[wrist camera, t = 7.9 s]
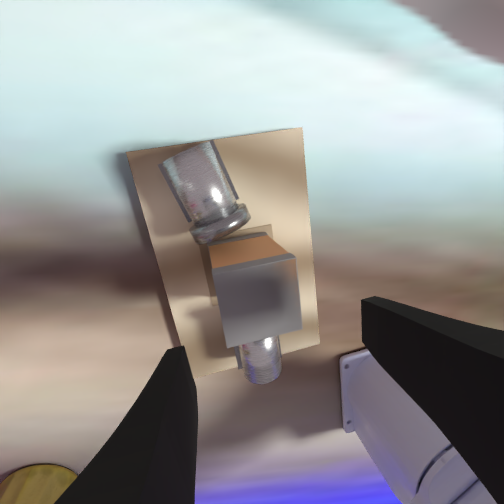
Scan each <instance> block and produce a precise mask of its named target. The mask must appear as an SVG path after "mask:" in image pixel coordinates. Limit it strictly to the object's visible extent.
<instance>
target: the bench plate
mask: <svg viewBox="0 0 504 504" xmlns="http://www.w3.org/2000/svg"><path fill="white" fill-rule="evenodd" d="M209 141H211V140H208V141H201V142H194V143H187V144H180V145H173V146H166V147H159V148H152V149H145V150H138V151H130V152H126V154H127V158H128V161H129V165H130V168H131V172H132V175H133V179H134V182H135V186H136V189H137V193H138V196H139V200H140V203H141V207H142V210H143V214H144V217H145V221H146V224H147V227H148V231H149V234H150V238H151V241H152V245H153V248H154V252H155V255H156V259H157V262H158V266H159V269H160V273H161V276H162V280H163V283H164V287H165V290H166V294H167V297H168V301H169V304H170V308H171V311H172V315H173V318H174V322H175V325H176V329H177V332H178V336H179V339H180V343H181V346H183V345H184V347H185V350H186V354H187V357H188V361H189V364H190V368H191V371H192V375H193V378H194V379H195V378H199V377H202V376H206V375H209V374H213V373H216V372H220V371H224V370H227V369H231V368H234V367H238V364H237V360H236V355H235V350H234V347H230V348H227V345H226V340H225V335H224V330H223V325H222V320H221V315H220V310H219V305H218V300H217V295H216V290H215V285H214V280H213V275H212V266H211V261H210V256H209V251H208V246H207V243H206V244H196V242H195V241H194V239H193V237H192V235H191V233H190V231H189V229H190V228H191V227H192V226H193V225H194V224H193V222H192V221H191V222H189V223H188V221H187V219H186V217H185V215H184V214H183V212H182V210H181V208H180V206H179V204H178V202H177V200H176V199H175V197H174V195H173V193H172V191H171V189H170V187H169V186H168V184H167V182H166V180H165V178H164V176H163V174H162V173H161V171H160V169H159V167H158V164H160V163H162V162H164V161H165V160H167V159H169V158H171V157H172V156H174V155H176V154H178V153H180V152H183V151H185V150H187V149H189V148H192V147H194V146H196V145H199V144H202V143H205V142H209ZM213 141H214V143H215V145H216V147H217V150H218V152H219V154H220V156H221V159H222V161H223V163H224V165H225V168H226V170H227V172H228V174H229V176H230V179H231V181H232V183H233V185H234V188H235V190H236V192H237V194H238V197H239V199H238V200H236V201H237V203H238V204H241V203H244V204H246V207H247V209H248V211H249V213H250V216H251V219H250V220H249V222H247V223H246V224H245V225H244V226H243V227H241V228H240V229H238V230H236V231H235V232H233V233H231V234H229V235H227V236H225V237H223V238H221V239H218V240H224V239H229V238H234V237H240V236H245V235H250V234H256V233H261V232H266V233H267V234H268V236H269V237H270V238H272V239H273V240H274V241H275V242H276V243H278V244H279V245H280V246H281V247H282V248H284V249H285V250H286V251H287V252H288V253H292V254H293V255H294V256H295V257H296V258H297V269H298V280H299V292H300V303H301V314H302V326H303V329H301V330H297V331H293V332H290V333H286V334H282V335H279V340H280V347H281V354H285V353H288V352H292V351H295V350H299V349H303V348H306V347H310V346H313V345H317V344H320V338H319V326H318V314H317V302H316V289H315V277H314V265H313V253H312V240H311V228H310V216H309V204H308V191H307V179H306V167H305V155H304V142H303V130H302V127H301V128H294V129H286V130H279V131H272V132H265V133H258V134H251V135H244V136H237V137H230V138H223V139H216V140H213ZM218 240H216V241H218Z"/></svg>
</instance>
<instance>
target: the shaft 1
mask: <svg viewBox="0 0 504 504" xmlns="http://www.w3.org/2000/svg"><path fill="white" fill-rule="evenodd" d="M158 167H159V169H160V171H161V173H162V174H163V176H164V178H165V180H166V182H167V184H168V186H169V187H170V189H171V191H172V193H173V195H174V197H175V199H176V200H177V202H178V204H179V206H180V208H181V210H182V212H183V214H184V215H185V217H186V219H187V221H188V223H189V222H191V221H192V222H193V224H194V225H193V226H192V227H191V228H190V229H189V231H190V233H191V235H192V237H193V239H194V241H195V242H196V244H206V243H210V242H213V241H216V240H218V239H221V238H223V237H225V236H227V235H229V234H231V233H233V232H235V231H236V230H238V229H240V228H241V227H243V226H244V225H245V224H246V223H247V222H249V220H250V219H251V216H250V213H249V211H248V209H247V207H246V204H244V203H241V204H238V203H237V201H236V200H238V199H239V197H238V194H237V192H236V190H235V188H234V185H233V183H232V181H231V179H230V176H229V174H228V172H227V170H226V168H225V165H224V163H223V161H222V159H221V156H220V154H219V152H218V150H217V147H216V145H215V143H214V141H213V140H211V141H209V142H205V143H202V144H199V145H196V146H194V147H192V148H189V149H187V150H185V151H183V152H180V153H178V154H176V155H174V156H172V157H171V158H169V159H167V160H165V161H164V162H162V163H160V164H158Z"/></svg>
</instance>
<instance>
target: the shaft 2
mask: <svg viewBox="0 0 504 504" xmlns="http://www.w3.org/2000/svg"><path fill="white" fill-rule="evenodd" d="M234 350H235V355H236V360H237V364H238V369H241V368H243V372H244V376H245V377H246V379H247V380H248V381H250V382H252V383H255V384H266V383H270V382H272V381H274V380H275V379H276V378H277V377H278V376H279V375H280V373H281V370H282V365H281V357H282V355H281V347H280V340H279V335H278V336H274V337H270V338H266V339H262V340H258V341H254V342H250V343H246V344H242V345H238V346H234Z"/></svg>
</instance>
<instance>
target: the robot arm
mask: <svg viewBox="0 0 504 504" xmlns="http://www.w3.org/2000/svg"><path fill="white" fill-rule="evenodd" d="M361 314H362V342H363V343H364V345H365V346H366V348H367V349H365V350H361V351H358V352H354V353H351V354H347V355H344V356H342V357H341V358H340V380H341V398H342V417H343V429H344V431H345V432H346V433H350V432H353V431H355V432H356V434H357V435H358V437H359V438H360V440H361V442H362V443H363V445H364V447H365V448H366V450H367V451H368V453H369V455H370V456H371V458H372V459H373V461H374V463H375V464H376V466H377V467H378V469H379V471H380V472H381V474H382V476H383V477H384V479H385V480H386V482H387V484H388V485H389V487H390V488H391V490H392V491H393V493H394V494H395V495H396V497H397V498H398V499H399V500H400V501H401V502H402V503H403V504H504V331H502V330H497V329H492V328H488V327H483V326H479V325H475V324H471V323H467V322H463V321H460V320H456V319H452V318H448V317H445V316H441V315H438V314H434V313H431V312H428V311H424V310H421V309H418V308H415V307H411V306H408V305H405V304H402V303H398V302H395V301H392V300H388V299H385V298H381V297H376V296H373V297H370V298H366V299H362V300H361ZM197 432H198V406H197V391H196V385H195V382H194V378H193V375H192V371H191V368H190V364H189V361H188V357H187V354H186V350H185V347H184V345H183V346H179V347H176V348H172V349H168V350H167V351H166V352H165V354H164V356H163V357H162V359H161V361H160V362H159V364H158V366H157V368H156V369H155V371H154V373H153V374H152V376H151V378H150V379H149V381H148V382H147V384H146V386H145V387H144V389H143V390H142V392H141V394H140V395H139V397H138V398H137V400H136V401H135V403H134V404H133V406H132V407H131V409H130V410H129V412H128V413H127V414H126V416H125V417H124V419H123V420H122V422H121V423H120V425H119V426H118V427H117V429H116V430H115V431H114V433H113V434H112V435H111V437H110V438H109V439H108V441H107V442H106V443H105V445H104V446H103V447H102V448H101V449H100V451H99V452H98V453H97V454H96V456H95V457H94V458H93V459H92V461H91V462H90V463H89V464H88V465H87V467H86V468H85V469H84V470H83V471H82V472H81V473H80V475H79V476H78V477H77V478H76V479H75V480H74V481H73V482H72V483H71V485H70V486H69V487H68V488H67V489H66V490H65V491H64V492H63V494H62V495H61V496H60V497H59V498H58V499H57V500H56V501H55V503H54V504H194V503H195V474H196V453H197Z"/></svg>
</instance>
